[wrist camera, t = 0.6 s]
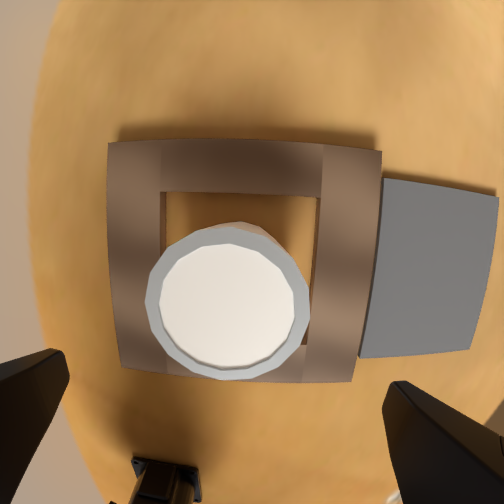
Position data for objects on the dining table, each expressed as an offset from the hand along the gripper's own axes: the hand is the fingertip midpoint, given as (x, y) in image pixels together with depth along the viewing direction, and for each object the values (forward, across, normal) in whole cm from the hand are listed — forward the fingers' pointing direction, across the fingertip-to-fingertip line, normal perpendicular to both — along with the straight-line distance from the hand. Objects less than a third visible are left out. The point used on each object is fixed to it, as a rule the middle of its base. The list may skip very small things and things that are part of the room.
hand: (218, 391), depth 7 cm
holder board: (+12, 0, 0) cm, 12 cm away
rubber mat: (+12, -13, 0) cm, 18 cm away
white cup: (+12, 0, 0) cm, 12 cm away
